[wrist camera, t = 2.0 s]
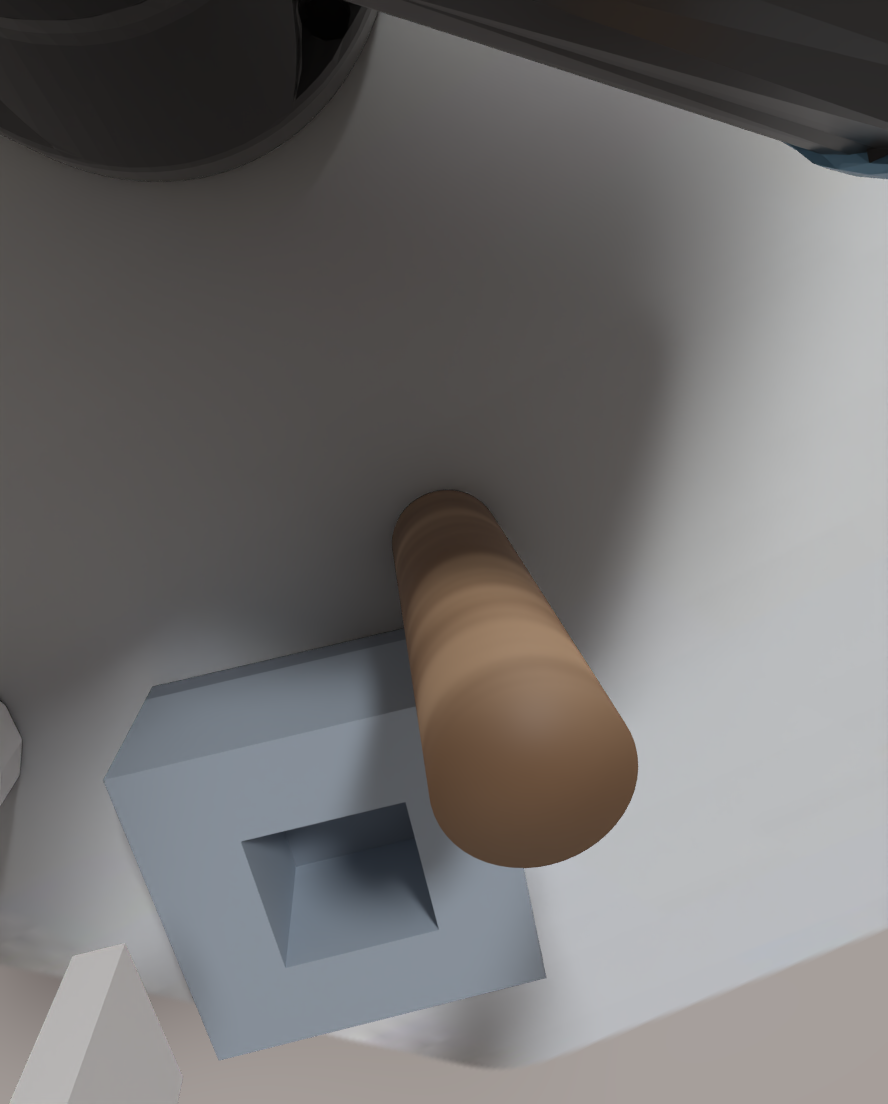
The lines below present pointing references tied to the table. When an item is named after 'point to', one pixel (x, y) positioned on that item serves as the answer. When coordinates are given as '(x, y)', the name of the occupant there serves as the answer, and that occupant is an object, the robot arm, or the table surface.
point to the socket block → (310, 850)
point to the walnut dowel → (503, 695)
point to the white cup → (8, 752)
